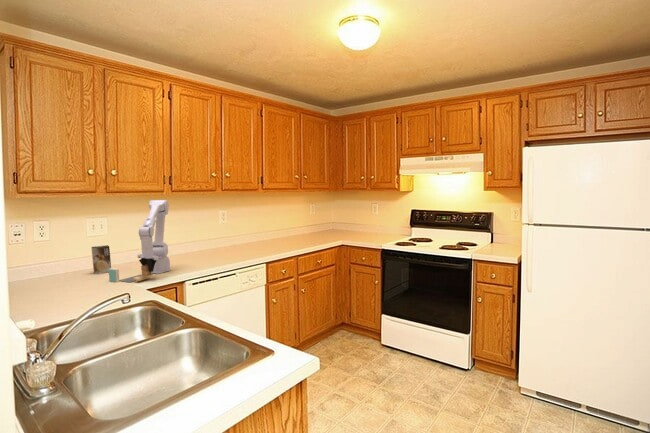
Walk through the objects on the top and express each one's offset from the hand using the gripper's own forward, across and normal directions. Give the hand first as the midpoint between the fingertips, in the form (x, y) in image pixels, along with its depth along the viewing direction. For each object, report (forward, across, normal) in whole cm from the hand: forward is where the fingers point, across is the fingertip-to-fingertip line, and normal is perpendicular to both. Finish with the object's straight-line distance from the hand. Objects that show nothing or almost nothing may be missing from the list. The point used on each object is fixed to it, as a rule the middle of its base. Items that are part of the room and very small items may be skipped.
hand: (148, 271), depth 208 cm
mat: (+4, -7, -3) cm, 9 cm away
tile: (+4, -14, -11) cm, 18 cm away
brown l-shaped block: (+3, 0, -4) cm, 5 cm away
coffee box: (+5, -40, 0) cm, 41 cm away
